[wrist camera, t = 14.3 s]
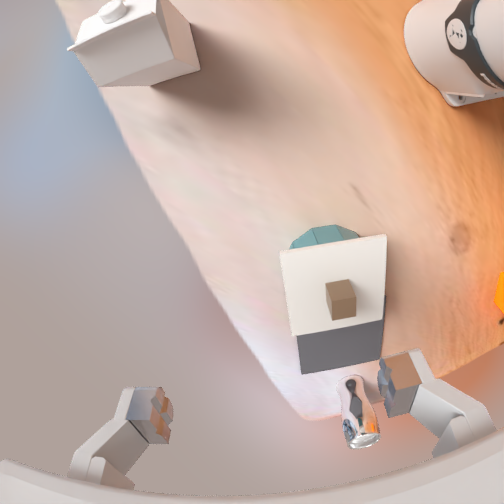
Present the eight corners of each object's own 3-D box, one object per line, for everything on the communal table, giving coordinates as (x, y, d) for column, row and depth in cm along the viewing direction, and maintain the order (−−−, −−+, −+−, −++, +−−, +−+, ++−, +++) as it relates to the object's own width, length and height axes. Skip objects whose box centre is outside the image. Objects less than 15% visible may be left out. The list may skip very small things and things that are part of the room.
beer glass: (329, 381, 62) (342, 441, 49) (360, 369, 60) (378, 428, 47) (339, 396, 65) (351, 453, 52) (368, 385, 63) (384, 440, 50)
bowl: (366, 219, 45) (380, 237, 39) (366, 291, 51) (377, 314, 45) (278, 233, 46) (282, 254, 40) (289, 305, 52) (293, 330, 46)
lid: (384, 233, 39) (398, 251, 35) (380, 316, 46) (390, 337, 41) (278, 251, 40) (282, 271, 36) (291, 332, 47) (294, 355, 43)
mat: (384, 294, 51) (386, 296, 51) (378, 357, 59) (379, 359, 58) (293, 311, 52) (293, 314, 52) (301, 372, 60) (301, 374, 59)
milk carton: (201, 70, 35) (161, 53, 18) (148, 86, 36) (75, 89, 19) (189, 21, 31) (142, -26, 15) (136, 39, 32) (59, 13, 15)
